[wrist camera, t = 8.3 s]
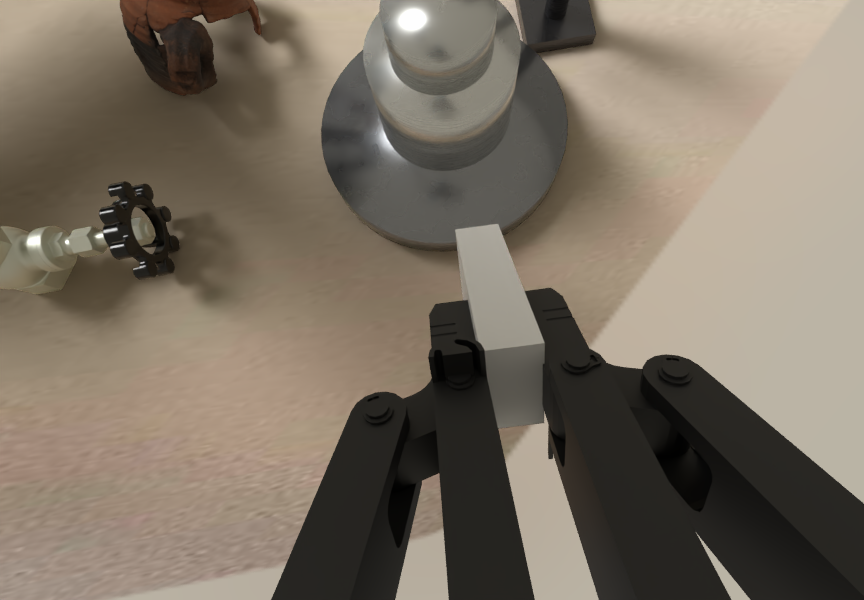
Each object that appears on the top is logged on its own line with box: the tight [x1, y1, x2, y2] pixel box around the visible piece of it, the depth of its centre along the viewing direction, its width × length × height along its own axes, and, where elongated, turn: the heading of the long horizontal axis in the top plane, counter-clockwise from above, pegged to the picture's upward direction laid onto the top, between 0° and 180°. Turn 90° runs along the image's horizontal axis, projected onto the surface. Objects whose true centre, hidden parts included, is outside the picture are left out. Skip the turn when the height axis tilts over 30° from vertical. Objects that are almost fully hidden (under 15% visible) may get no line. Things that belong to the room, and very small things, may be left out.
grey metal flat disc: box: [321, 40, 568, 251], centre depth 34 cm, size 17×17×2 cm
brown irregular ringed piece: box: [120, 0, 261, 96], centre depth 35 cm, size 12×10×8 cm
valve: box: [0, 181, 180, 295], centre depth 32 cm, size 7×7×12 cm
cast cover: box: [363, 0, 521, 171], centre depth 28 cm, size 9×9×9 cm
